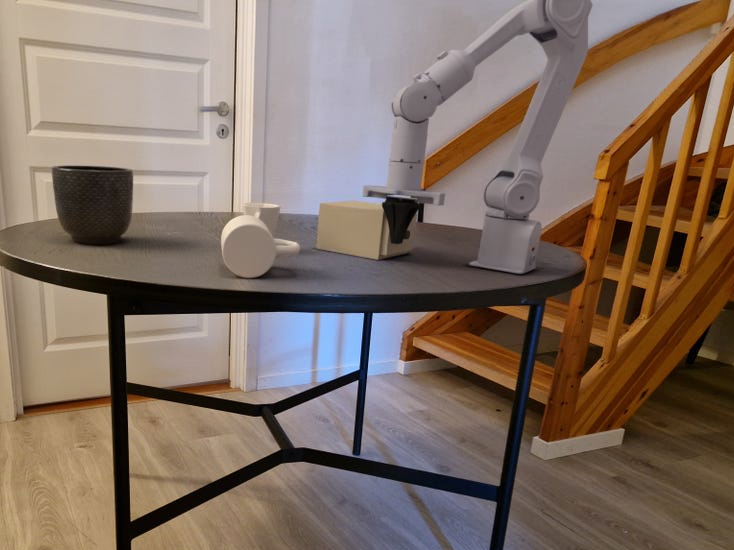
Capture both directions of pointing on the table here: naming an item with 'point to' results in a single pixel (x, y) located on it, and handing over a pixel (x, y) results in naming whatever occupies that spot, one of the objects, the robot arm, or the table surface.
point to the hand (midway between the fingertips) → (396, 243)
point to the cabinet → (352, 229)
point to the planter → (93, 202)
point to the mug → (252, 246)
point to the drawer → (391, 248)
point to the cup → (263, 214)
